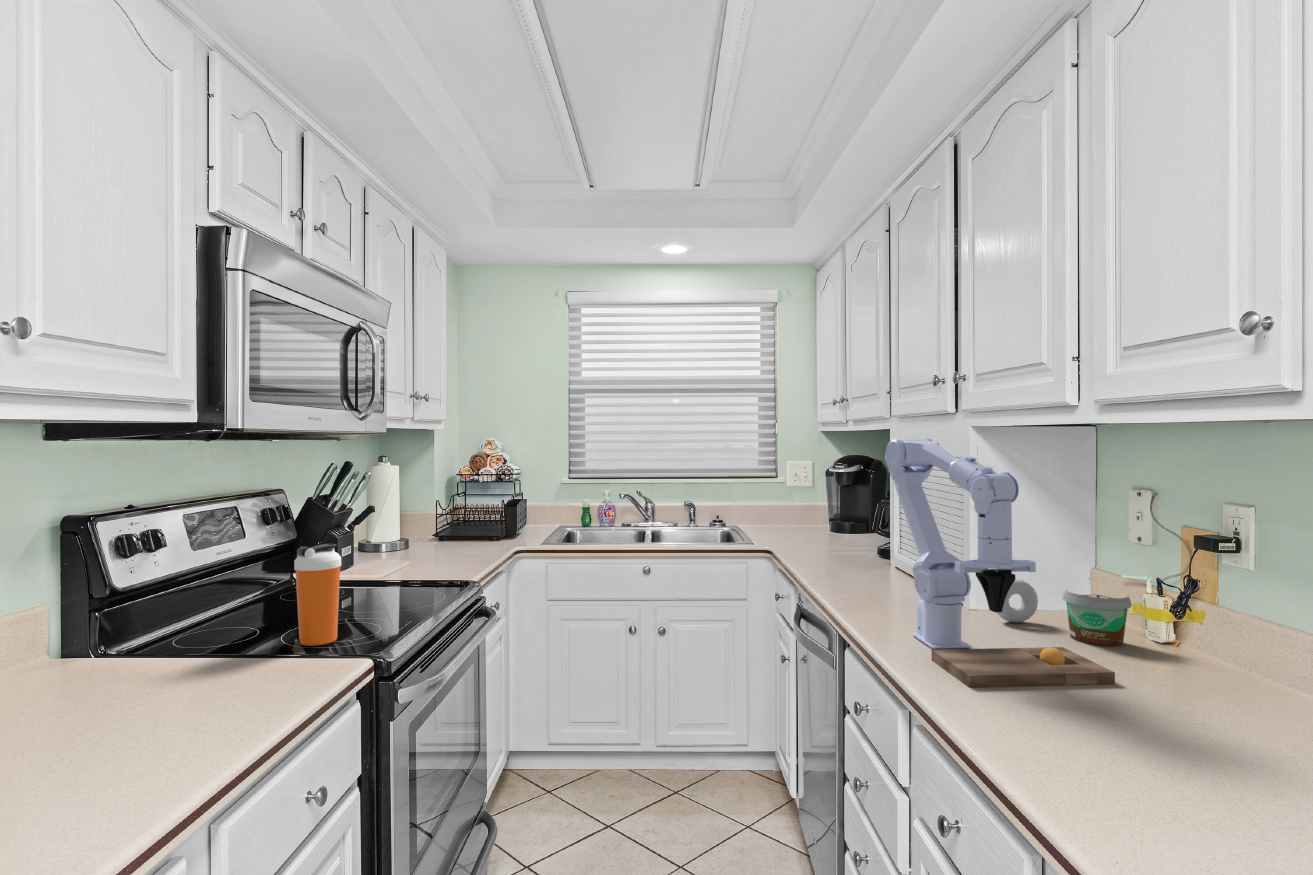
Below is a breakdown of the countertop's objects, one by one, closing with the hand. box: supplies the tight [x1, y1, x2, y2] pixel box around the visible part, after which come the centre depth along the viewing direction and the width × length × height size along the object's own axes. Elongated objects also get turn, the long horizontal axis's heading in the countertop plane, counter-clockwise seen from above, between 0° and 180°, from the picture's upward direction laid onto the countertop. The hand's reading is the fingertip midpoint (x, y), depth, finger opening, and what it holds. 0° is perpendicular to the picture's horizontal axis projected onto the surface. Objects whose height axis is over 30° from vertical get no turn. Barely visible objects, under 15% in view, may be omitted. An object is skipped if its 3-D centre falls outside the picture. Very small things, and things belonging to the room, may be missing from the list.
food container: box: [1061, 589, 1132, 648], centre depth 141 cm, size 12×6×10 cm, turn 62°
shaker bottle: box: [293, 543, 342, 647], centre depth 144 cm, size 9×9×20 cm
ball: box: [1040, 646, 1065, 665], centre depth 125 cm, size 4×4×4 cm
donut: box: [995, 578, 1039, 624], centre depth 157 cm, size 10×4×10 cm, turn 89°
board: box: [931, 646, 1116, 688], centre depth 125 cm, size 14×26×2 cm, turn 93°
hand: (995, 611), depth 127 cm, fingers closed
